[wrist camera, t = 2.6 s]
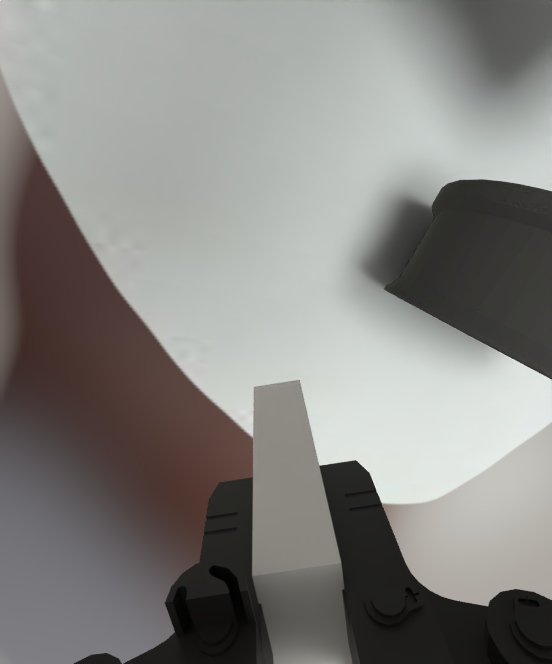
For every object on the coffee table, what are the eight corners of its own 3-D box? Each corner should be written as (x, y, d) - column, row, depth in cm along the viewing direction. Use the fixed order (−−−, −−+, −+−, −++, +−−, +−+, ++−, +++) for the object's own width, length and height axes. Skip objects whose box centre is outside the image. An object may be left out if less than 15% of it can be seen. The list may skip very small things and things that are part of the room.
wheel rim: (546, 278, 42) (815, 341, 23) (497, 350, 44) (707, 461, 25) (400, 185, 37) (596, 167, 18) (351, 272, 39) (481, 339, 20)
